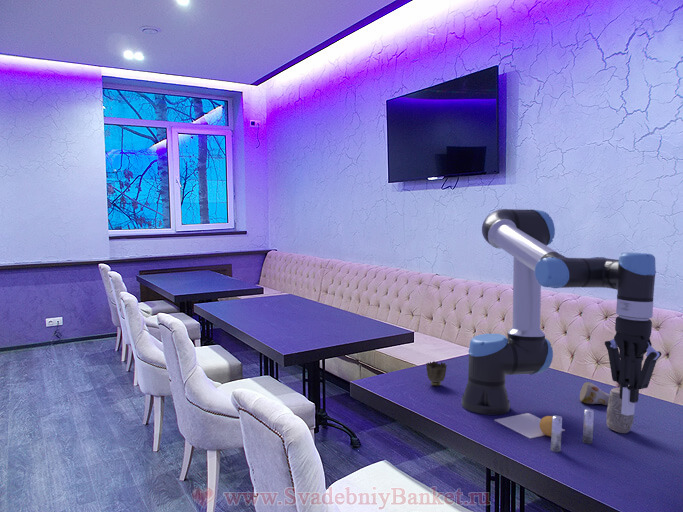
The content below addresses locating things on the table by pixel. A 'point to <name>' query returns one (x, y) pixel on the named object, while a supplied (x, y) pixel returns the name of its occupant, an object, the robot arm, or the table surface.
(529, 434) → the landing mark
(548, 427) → the ball
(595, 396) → the mug
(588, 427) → the post
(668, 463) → the table surface
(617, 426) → the carving
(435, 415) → the table surface
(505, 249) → the robot arm
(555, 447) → the post
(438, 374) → the cup
